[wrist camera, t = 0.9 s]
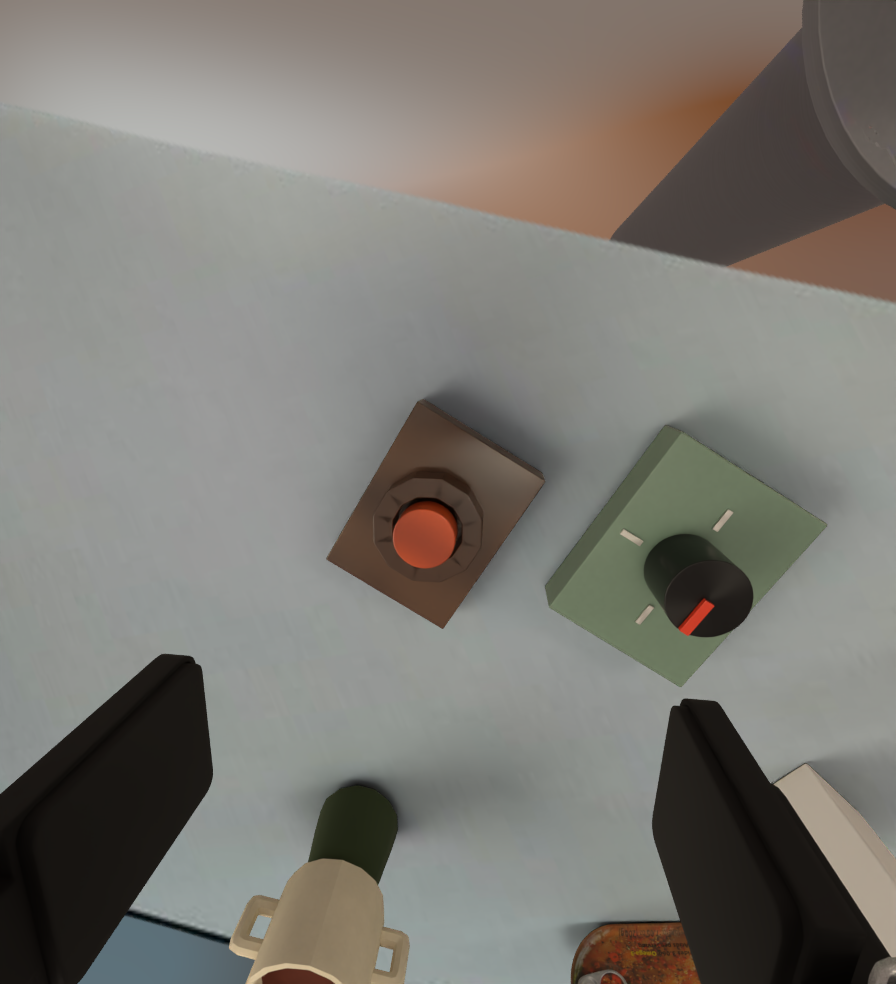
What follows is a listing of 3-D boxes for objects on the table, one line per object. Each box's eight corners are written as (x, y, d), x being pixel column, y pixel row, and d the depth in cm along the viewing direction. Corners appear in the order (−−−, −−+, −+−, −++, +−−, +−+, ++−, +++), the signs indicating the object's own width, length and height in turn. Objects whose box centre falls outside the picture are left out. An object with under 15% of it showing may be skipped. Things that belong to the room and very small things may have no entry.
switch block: (422, 398, 32) (412, 403, 28) (542, 473, 32) (548, 488, 29) (336, 547, 35) (316, 570, 31) (446, 613, 36) (439, 644, 32)
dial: (674, 519, 29) (703, 546, 25) (737, 559, 29) (775, 591, 25) (628, 578, 30) (648, 612, 26) (688, 615, 31) (717, 655, 27)
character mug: (292, 828, 42) (205, 1026, 30) (302, 759, 40) (213, 941, 28) (419, 860, 42) (385, 1075, 29) (436, 792, 40) (406, 992, 27)
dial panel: (665, 424, 31) (683, 431, 28) (798, 509, 31) (830, 526, 28) (544, 586, 34) (548, 608, 31) (666, 660, 35) (682, 689, 32)
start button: (417, 489, 30) (412, 497, 28) (469, 521, 30) (467, 530, 28) (387, 537, 31) (381, 547, 29) (438, 567, 31) (434, 580, 29)
